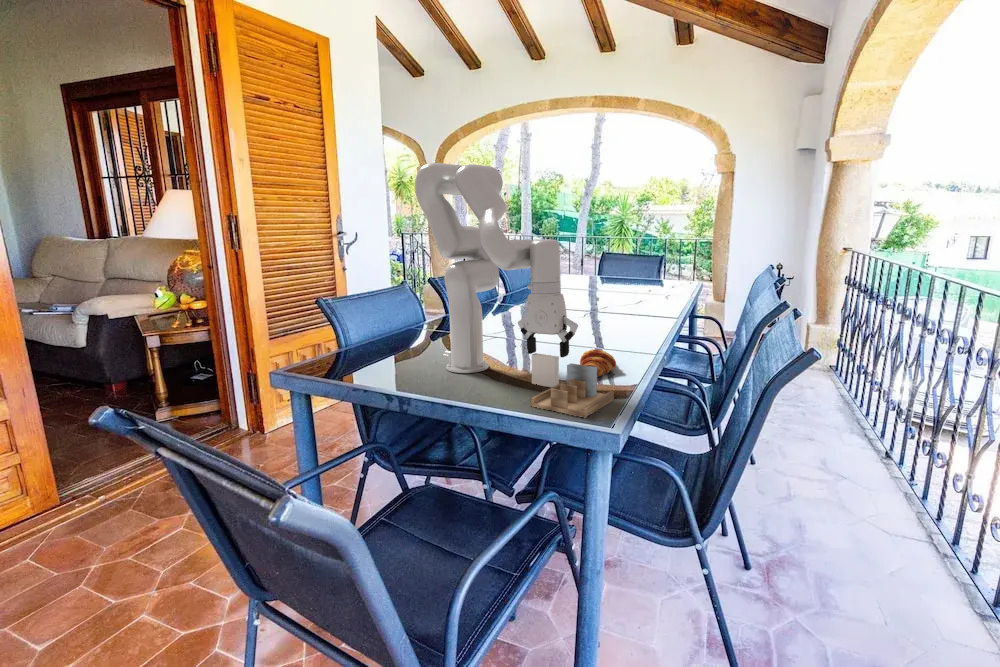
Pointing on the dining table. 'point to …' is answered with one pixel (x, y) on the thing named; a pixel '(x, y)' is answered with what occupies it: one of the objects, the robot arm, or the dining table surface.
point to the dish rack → (574, 393)
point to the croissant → (598, 361)
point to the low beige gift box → (545, 370)
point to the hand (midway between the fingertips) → (547, 354)
